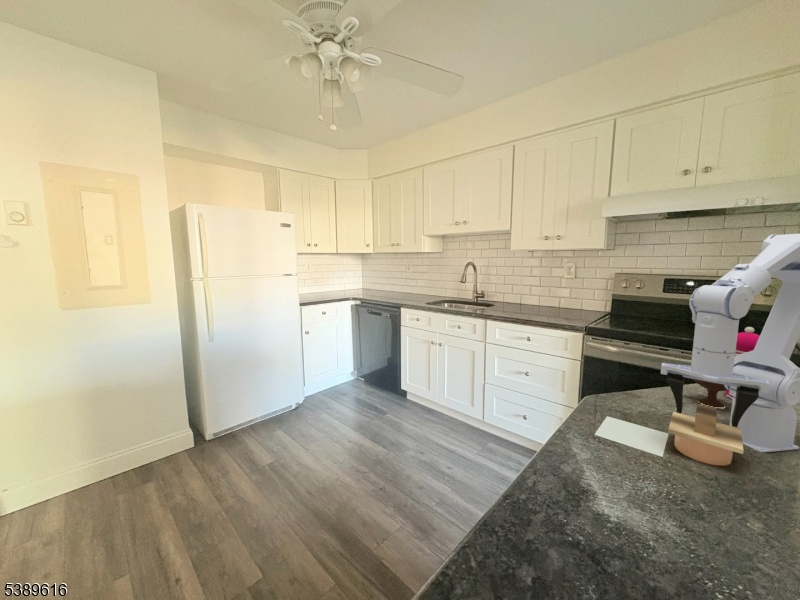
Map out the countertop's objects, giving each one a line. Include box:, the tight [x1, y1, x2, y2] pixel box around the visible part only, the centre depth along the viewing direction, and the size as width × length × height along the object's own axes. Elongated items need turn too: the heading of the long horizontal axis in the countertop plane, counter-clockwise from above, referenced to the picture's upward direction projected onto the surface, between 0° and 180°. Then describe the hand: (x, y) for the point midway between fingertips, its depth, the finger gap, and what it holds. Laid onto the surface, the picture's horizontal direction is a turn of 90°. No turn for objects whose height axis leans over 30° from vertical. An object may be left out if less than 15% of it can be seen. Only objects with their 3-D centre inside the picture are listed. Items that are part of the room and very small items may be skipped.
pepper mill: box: [724, 326, 761, 397], centre depth 87 cm, size 7×7×20 cm
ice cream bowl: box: [686, 363, 727, 407], centre depth 83 cm, size 11×11×15 cm
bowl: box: [673, 435, 734, 467], centre depth 63 cm, size 8×8×4 cm
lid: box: [667, 403, 745, 455], centre depth 62 cm, size 10×10×4 cm
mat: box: [594, 416, 670, 458], centre depth 70 cm, size 12×12×1 cm
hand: (705, 417), depth 62 cm, fingers open, 7 cm apart
